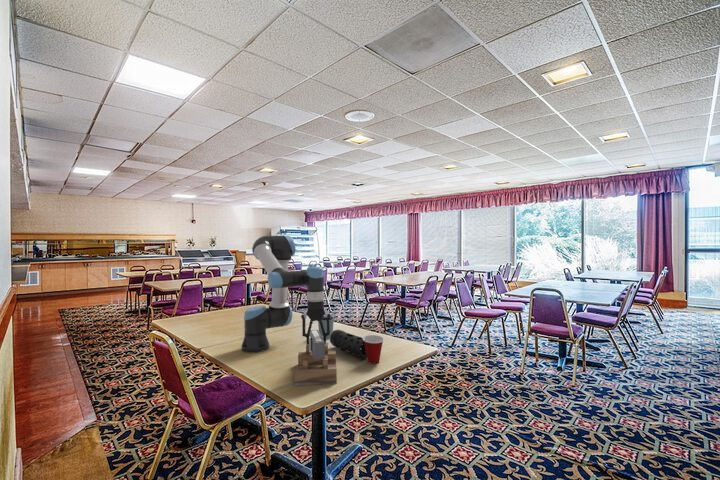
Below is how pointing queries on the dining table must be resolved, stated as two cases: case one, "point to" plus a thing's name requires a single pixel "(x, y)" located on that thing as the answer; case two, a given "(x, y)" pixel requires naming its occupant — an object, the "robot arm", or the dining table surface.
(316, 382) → the rack
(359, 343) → the black perforated cylinder
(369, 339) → the plastic cup
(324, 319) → the grey green pot
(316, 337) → the gray rectangular block
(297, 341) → the dining table surface
